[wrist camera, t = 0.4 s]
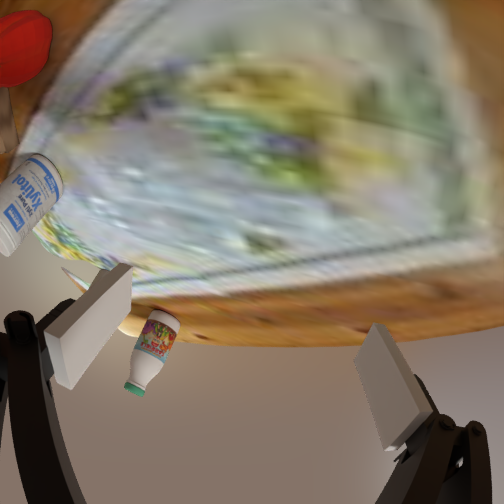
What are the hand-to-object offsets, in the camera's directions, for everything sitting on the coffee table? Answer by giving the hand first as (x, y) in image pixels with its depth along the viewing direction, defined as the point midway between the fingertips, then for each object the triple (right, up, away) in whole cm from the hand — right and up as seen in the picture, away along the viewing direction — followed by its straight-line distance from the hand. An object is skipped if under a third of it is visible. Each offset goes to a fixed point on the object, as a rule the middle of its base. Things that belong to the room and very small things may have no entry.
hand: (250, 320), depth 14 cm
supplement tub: (-34, +17, +23) cm, 45 cm away
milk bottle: (-20, -12, +50) cm, 55 cm away
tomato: (-25, +29, +4) cm, 39 cm away
